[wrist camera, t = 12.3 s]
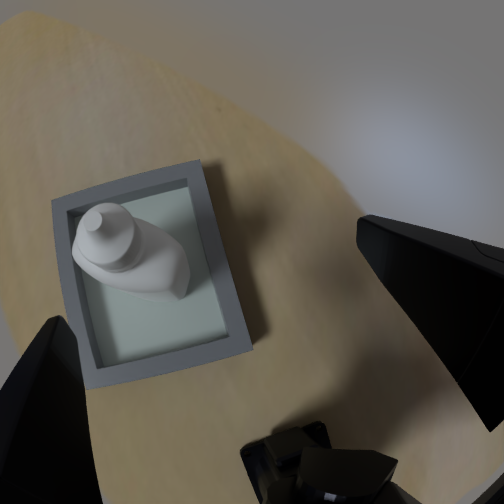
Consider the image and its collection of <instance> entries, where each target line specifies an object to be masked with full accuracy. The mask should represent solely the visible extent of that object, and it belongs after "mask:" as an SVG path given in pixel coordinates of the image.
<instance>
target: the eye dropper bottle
mask: <svg viewBox="0 0 504 504" xmlns="http://www.w3.org/2000/svg"><path fill="white" fill-rule="evenodd" d="M76 233H77V234H76V237H75V240H74V243H73V247H72V256H73V258H74V260H75V261H76V263H77V264H78V265H79V266H80V267H81V268H82V269H83V270H84V271H85V272H86V273H88V274H89V275H90V276H92V277H93V278H95V279H97V280H98V281H100V282H102V283H104V284H106V285H108V286H111V287H113V288H115V289H118V290H120V291H123V292H125V293H127V294H130V295H132V296H135V297H138V298H141V299H144V300H148V301H154V302H173V301H179V300H181V299H183V298H184V296H185V294H186V291H187V287H188V283H189V280H190V268H189V264H188V260H187V257H186V254H185V251H184V249H183V247H182V246H181V245H180V244H179V243H178V242H177V241H176V240H175V239H174V238H173V237H172V236H170V235H169V234H168V233H166V232H165V231H163V230H162V229H160V228H159V227H157V226H155V225H153V224H151V223H149V222H147V221H144V220H142V219H139V218H135V217H133V216H132V215H131V214H130V212H129V211H128V210H126V208H124V207H123V206H121V205H118V204H115V203H112V202H111V203H109V202H108V203H106V202H105V203H102V204H99V205H96V206H94V207H93V208H91V209H90V210H88V211H87V212H86V214H84V216H83V217H82V219H81V220H80V222H79V225H78V228H77V232H76Z"/></svg>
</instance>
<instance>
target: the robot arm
mask: <svg viewBox="0 0 504 504" xmlns="http://www.w3.org/2000/svg"><path fill="white" fill-rule="evenodd" d="M356 243H357V246H358V248H359V250H360V251H361V253H362V254H363V256H364V257H365V259H366V260H367V262H368V263H369V265H370V266H371V268H372V269H373V271H374V272H375V274H376V275H377V277H378V278H379V280H380V281H381V282H382V284H383V285H384V286H385V288H386V289H387V290H388V291H389V293H390V294H391V295H392V296H393V298H394V299H395V300H396V301H397V303H398V304H399V305H400V306H401V308H402V309H403V310H404V312H405V313H406V314H407V315H408V317H409V318H410V319H411V321H412V322H413V323H414V324H415V326H416V327H417V328H418V330H419V331H420V332H421V334H422V335H423V336H424V338H425V339H426V340H427V342H428V343H429V344H430V346H431V347H432V348H433V350H434V351H435V352H436V354H437V355H438V357H439V358H440V359H441V361H442V362H443V364H444V365H445V366H446V368H447V369H448V371H449V372H450V373H451V375H452V376H453V378H454V379H455V381H456V382H458V383H457V384H458V385H459V387H460V388H461V390H462V391H463V393H464V394H465V396H466V397H467V399H468V400H469V402H470V403H471V405H472V406H473V408H474V409H475V411H476V412H477V414H478V415H479V417H480V419H481V420H482V422H483V423H484V425H485V427H486V428H487V429H488V431H489V432H491V431H493V430H494V429H495V428H496V427H497V426H498V425H499V424H500V423H501V422H502V421H503V420H504V249H503V248H499V247H495V246H491V245H488V244H484V243H481V242H477V241H473V240H471V241H470V240H469V239H466V238H463V237H459V236H455V235H452V234H448V233H444V232H440V231H436V230H433V229H429V228H425V227H421V226H417V225H413V224H409V223H405V222H400V221H396V220H392V219H388V218H383V217H379V216H375V215H366V216H363V217H360V218H359V219H358V221H357V236H356ZM318 426H321V428H320V429H319V430H316V428H317V427H318ZM246 451H250V454H248V455H245V454H244V453H245V452H246ZM240 455H241V458H242V461H243V463H244V466H245V468H246V471H247V474H248V476H249V479H250V481H251V484H252V486H253V489H254V491H255V494H256V496H257V499H258V501H259V503H260V504H422V503H420V502H419V501H418V500H416V499H415V498H414V497H412V496H411V495H410V494H408V493H407V492H406V491H404V490H403V489H402V488H401V487H399V486H398V485H397V484H395V483H394V482H391V479H392V476H393V474H394V471H395V469H396V466H397V463H398V460H397V459H395V458H392V457H389V456H387V455H384V454H382V453H379V452H376V451H373V450H345V449H332V447H331V444H330V440H329V436H328V433H327V429H326V426H325V424H324V423H322V422H321V421H317V422H314V423H311V424H309V425H306V426H304V427H301V428H300V427H294V428H291V429H289V430H286V431H283V432H280V433H277V434H274V435H271V436H268V437H266V438H265V439H264V441H261V442H258V443H255V444H251V445H248V446H245V447H243V448H242V449H241V450H240ZM0 504H103V502H102V498H101V493H100V489H99V484H98V479H97V474H96V469H95V464H94V458H93V452H92V446H91V439H90V432H89V424H88V415H87V406H86V395H85V386H84V380H83V374H82V368H81V362H80V355H79V348H78V341H77V338H76V336H75V334H74V333H73V331H72V330H71V328H70V327H69V325H68V324H67V322H66V321H65V319H64V318H63V317H62V316H60V315H58V316H54V317H51V318H49V319H48V320H47V321H46V322H45V324H44V325H43V326H42V328H41V329H40V331H39V332H38V333H37V335H36V336H35V338H34V339H33V341H32V342H31V343H30V345H29V346H28V348H27V349H26V351H25V352H24V354H23V355H22V357H21V358H20V360H19V361H18V363H17V365H16V366H15V367H14V369H13V370H12V372H11V374H10V375H9V377H8V379H7V380H6V382H5V383H4V385H3V386H2V388H1V390H0ZM472 504H504V473H503V474H502V475H501V476H500V477H499V478H498V479H497V480H496V481H495V482H494V483H493V484H492V485H491V486H490V487H489V488H488V489H487V490H486V491H485V492H484V493H483V494H482V495H481V496H480V497H479V498H477V499H476V501H474V502H473V503H472Z"/></svg>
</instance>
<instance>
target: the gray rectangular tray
mask: <svg viewBox="0 0 504 504" xmlns="http://www.w3.org/2000/svg"><path fill="white" fill-rule="evenodd" d="M51 202H52V217H53V229H54V239H55V247H56V256H57V263H58V270H59V276H60V283H61V288H62V294H63V299H64V304H65V309H66V314H67V319H68V323H69V327H70V328H71V330H72V331H73V333H74V334H75V336H76V338H77V341H78V348H79V355H80V362H81V368H82V374H83V380H84V383H85V386H86V389H87V390H89V389H94V388H100V387H105V386H111V385H116V384H121V383H126V382H131V381H135V380H140V379H144V378H149V377H153V376H158V375H162V374H166V373H170V372H175V371H179V370H183V369H187V368H191V367H194V366H198V365H202V364H206V363H209V362H213V361H217V360H220V359H224V358H227V357H231V356H234V355H238V354H241V353H245V352H248V351H251V350H253V346H252V343H251V340H250V336H249V333H248V330H247V326H246V323H245V319H244V316H243V313H242V309H241V306H240V302H239V299H238V296H237V292H236V289H235V285H234V282H233V278H232V275H231V271H230V268H229V264H228V261H227V257H226V254H225V250H224V246H223V243H222V239H221V236H220V232H219V228H218V225H217V221H216V217H215V214H214V210H213V206H212V203H211V199H210V195H209V192H208V188H207V184H206V180H205V177H204V173H203V169H202V165H201V161H200V159H199V160H194V161H190V162H185V163H181V164H177V165H172V166H168V167H164V168H160V169H156V170H152V171H148V172H144V173H140V174H136V175H133V176H129V177H125V178H122V179H118V180H114V181H111V182H108V183H104V184H101V185H97V186H94V187H91V188H87V189H84V190H81V191H78V192H75V193H72V194H69V195H66V196H63V197H60V198H57V199H54V200H51ZM105 202H106V203H108V202H109V203H111V202H112V203H115V204H118V205H121V206H123V207H124V208H126V210H128V211H129V212H130V214H131V215H132V216H133V217H135V218H139V219H142V220H144V221H147V222H149V223H151V224H153V225H155V226H157V227H159V228H160V229H162V230H163V231H165V232H166V233H168V234H169V235H170V236H172V237H173V238H174V239H175V240H176V241H177V242H178V243H179V244H180V245H181V246H182V247H183V249H184V251H185V254H186V257H187V260H188V264H189V268H190V280H189V283H188V287H187V291H186V294H185V296H184V298H183V299H181V300H179V301H173V302H154V301H148V300H144V299H141V298H138V297H135V296H132V295H130V294H127V293H125V292H123V291H120V290H118V289H115V288H113V287H111V286H108V285H106V284H104V283H102V282H100V281H98V280H97V279H95V278H93V277H92V276H90V275H89V274H88V273H86V272H85V271H84V270H83V269H82V268H81V267H80V266H79V265H78V264H77V263H76V261H75V260H74V258H73V256H72V247H73V243H74V240H75V237H76V234H77V233H76V232H77V228H78V225H79V222H80V220H81V219H82V217H83V216H84V214H86V212H87V211H88V210H90V209H91V208H93V207H94V206H96V205H99V204H102V203H105Z"/></svg>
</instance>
